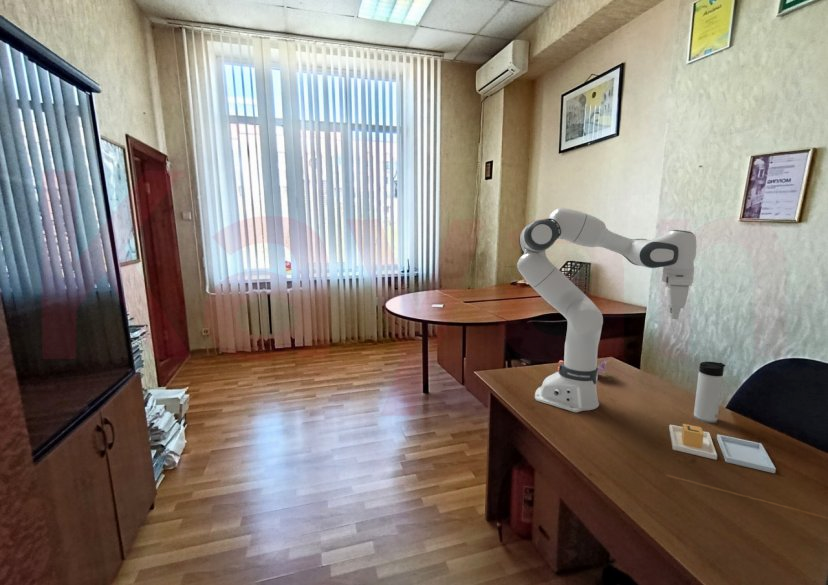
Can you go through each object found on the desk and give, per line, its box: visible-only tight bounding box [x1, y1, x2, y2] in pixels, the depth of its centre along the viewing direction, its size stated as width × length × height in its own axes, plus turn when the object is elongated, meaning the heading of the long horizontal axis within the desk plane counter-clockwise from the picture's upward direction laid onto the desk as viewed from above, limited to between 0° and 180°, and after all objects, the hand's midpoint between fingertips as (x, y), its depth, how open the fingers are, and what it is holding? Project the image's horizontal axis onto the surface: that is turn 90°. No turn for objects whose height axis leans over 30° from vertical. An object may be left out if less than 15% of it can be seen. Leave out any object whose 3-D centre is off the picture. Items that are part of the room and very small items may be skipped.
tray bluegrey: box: [716, 433, 777, 474], centre depth 104 cm, size 10×13×2 cm
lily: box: [597, 358, 611, 381], centre depth 158 cm, size 12×12×10 cm
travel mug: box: [693, 361, 726, 424], centre depth 122 cm, size 6×7×20 cm
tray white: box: [668, 424, 718, 461], centre depth 110 cm, size 10×13×2 cm
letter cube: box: [681, 423, 704, 449], centre depth 110 cm, size 4×4×5 cm
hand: (673, 315), depth 130 cm, fingers open, 8 cm apart
